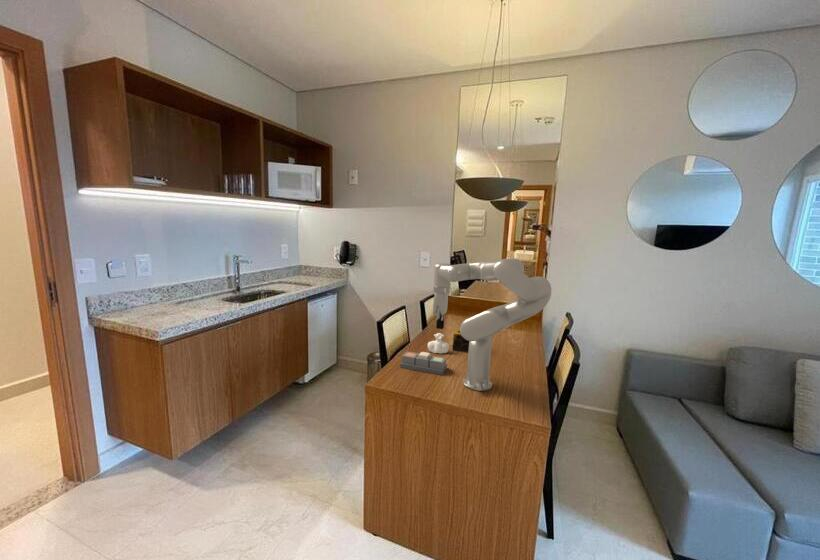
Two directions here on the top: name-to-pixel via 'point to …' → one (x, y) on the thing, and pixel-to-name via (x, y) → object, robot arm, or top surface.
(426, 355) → the cream button
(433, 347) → the bust
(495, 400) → the top surface
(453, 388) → the top surface
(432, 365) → the button board
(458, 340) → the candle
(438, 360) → the sage button
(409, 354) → the terracotta button
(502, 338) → the top surface
